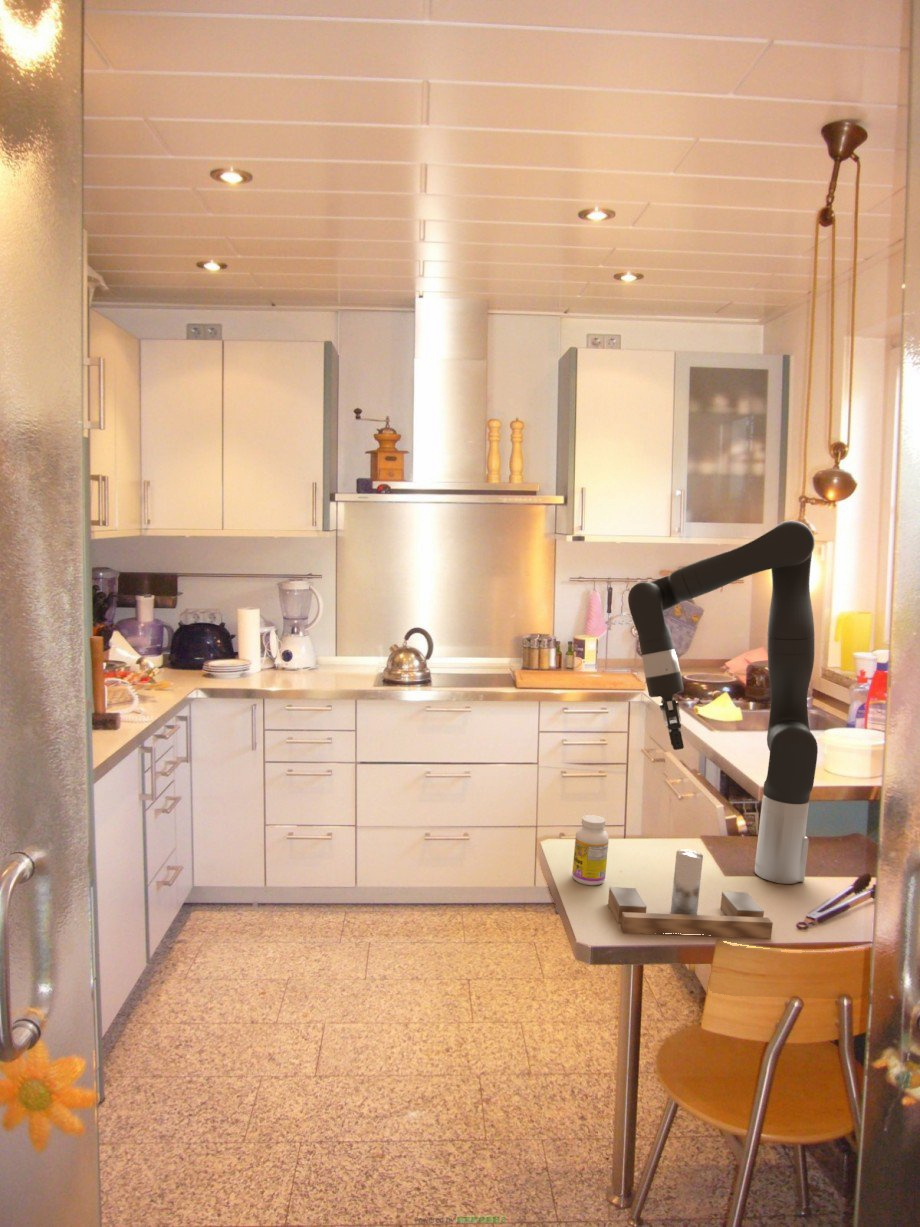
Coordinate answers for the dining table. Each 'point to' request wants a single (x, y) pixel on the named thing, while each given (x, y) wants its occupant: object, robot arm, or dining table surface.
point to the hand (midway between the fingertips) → (677, 747)
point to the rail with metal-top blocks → (691, 917)
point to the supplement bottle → (590, 851)
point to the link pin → (686, 882)
